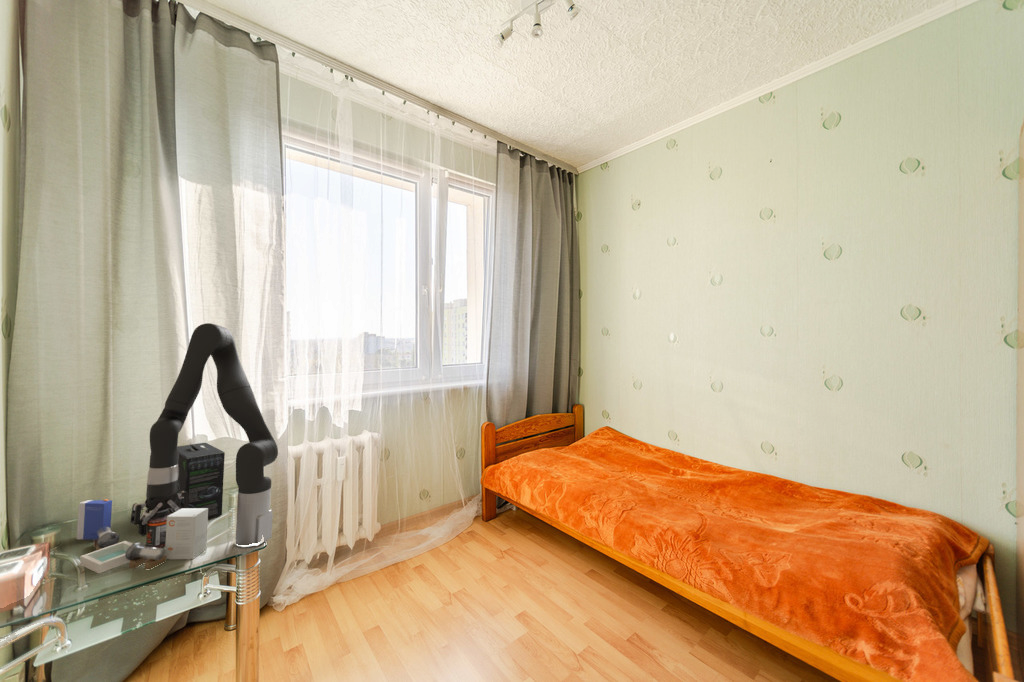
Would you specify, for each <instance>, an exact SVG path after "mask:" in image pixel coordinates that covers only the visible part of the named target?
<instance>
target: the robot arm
mask: <svg viewBox="0 0 1024 682" xmlns="http://www.w3.org/2000/svg"><path fill="white" fill-rule="evenodd" d="M233 335H234V334H233V333H232V332H231V331H230V330H229V329H228V328H226V327H224V326H222V325H218V324H216V323H211V322H210V323H209V322H208V323H202V324H200V325H198V326H197V327H196V328H195V329H194V330H193V332H192V333H191V338H190V339H189V343H188V346H187V350H186V354H185V356H184V359H183V362H182V366H181V368H180V371H179V374H178V376H177V378H176V381H175V382H174V384H173V386H172V388H171V390H170V392H169V394H168V396H167V397H166V400H165V403H164V408H163V410H162V411H161V413H160V415H159V417H158V418H157V420H156V421H155V422H154V423H153V424H152V425H151V427H150V430H149V447H150V456H149V466H148V472H147V479H146V491H145V492H146V494H145V496H146V497H145V498H146V499H145V501H144V502H140V503H136V502H135V503H133V504H132V506H131V514H130V521H129V523H130V524H131V525H134V526H137V525H138V526H137V534H138V535H139V536H141V537H147V524H148V520H149V519H150V518H151V517H152V516H153V515H154V514H155V513H156V512H157V511H160V510H163V509H167V508H170V509H171V510H173V511H174V512H176V511H178V510H180V509H182V508H188V492H186V491H183V490H182V491H181V492H180V493H177V490H178V476H179V467H178V460H179V449H178V447H177V446H178V443H179V433H180V432H181V430H182V429H183V427H184V424H185V422H186V420H187V417H188V415H189V412H190V411H191V408H192V407H193V406H194V404H195V401H196V399H197V398H198V396H199V394H200V391H201V388H202V385H203V377H204V376H203V375H204V371H205V366H206V364H207V362H208V360H209V358H210V357H211V358H212V361H213V363H214V366H215V368H216V391H217V394H218V398H219V401H220V403H221V406H222V407H223V410H224V411H225V413H226V414H227V415H228V416H229V417H230V418H232V420H233V421H234V422H236V423H237V424H238V425H239V426H240V427H241V428H242V429H243V430H244V433H245V435H246V436H247V437H246V438H247V439H248V442H247V443H244V444H243V445H242V446H240V447H239V448H238V450H237V452H236V457H235V481H236V485H237V488H238V489H237V490H238V491H237V506H236V508H237V509H236V522H235V523H236V524H235V525H236V526H235V543H236V544H238V545H249V544H252V543H258V542H260V541H261V539H262V535H263V537H264V541H265V542H264V543H266V542H268V541H269V540H270V539H272V532H273V516H274V515H273V514H274V511H273V509H271V499H272V498H271V497H272V494H271V493H272V479H271V478H270V477H269V476H266V475H265V473H264V471H265V470H264V469H265V467H267V466H268V465H271V464H273V463H274V462H275V461H276V460H277V458H278V455H279V449H278V444H277V443H276V441H275V439H274V437H273V435H272V432H271V431H270V430H269V427H268V425H267V424H266V422H265V419H264V417H263V415H262V412H261V410H260V407H259V405H258V403H257V400H256V398H255V394H254V392H253V388H252V387H251V384H250V382H249V380H248V377H247V375H246V373H245V369H244V368H243V365H242V363H241V360H240V358H239V355H238V350H237V346H236V343H235V342H236V341H235V338H234V336H233ZM177 498H179V499H180V507H178V506H177V505H176V504H175V503H174V502H175V501H176V500H177ZM144 508H145V509H144ZM143 510H144V511H143ZM142 511H143V512H142ZM141 513H142V514H141Z"/></svg>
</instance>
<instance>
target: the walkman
mask: <svg viewBox="0 0 1024 682" xmlns="http://www.w3.org/2000/svg"><path fill="white" fill-rule="evenodd" d="M112 506H113V500H111V499H106V498H105V499H103V500H102V499H88V500H84V501H81V502H79V503H78V514H77V515H78V516H77V527H76V528H77V529H76V540H94V539H97V538H99V537H98V535H97V531H98V530H99V529H100V528H102V527H109V528H110V529H111V530H112V528H111V526H112V511H113V510H112V509H113V508H112Z"/></svg>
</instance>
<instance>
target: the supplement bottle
mask: <svg viewBox="0 0 1024 682" xmlns="http://www.w3.org/2000/svg"><path fill="white" fill-rule="evenodd" d="M169 515H171V513H170V512H169V508H167V509H163V510H160V511H157V512H156V513H155V514H154V515H153V516H152V517H151V518H150V519H149V520H148V521H147V523H146V524H147V533H146V541H145V542H146V544H145V546H147V547H156V548H163V547H165V544H166V526H167V516H169Z"/></svg>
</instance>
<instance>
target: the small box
mask: <svg viewBox="0 0 1024 682" xmlns="http://www.w3.org/2000/svg"><path fill="white" fill-rule="evenodd" d="M170 514H171V513H170ZM208 521H209V519H208V508H182V509H180V510H178V511H176V512H174V513H172V514H171V515H169V516H167V526H166V544H165V546H164V547H165V548H164V549H165V550H166V552H165V555H166V559H169V560H194V559H195V558H196V557H198V556H199V555H200V554H202V553H203V552H204V551H206V550H207V546H208V544H207V543H208V523H209V522H208ZM201 552H202V553H201ZM194 557H195V558H194ZM193 558H194V559H193Z"/></svg>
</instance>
